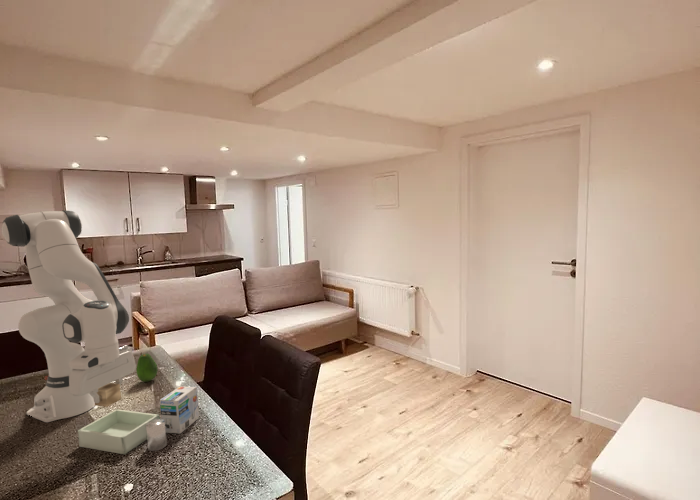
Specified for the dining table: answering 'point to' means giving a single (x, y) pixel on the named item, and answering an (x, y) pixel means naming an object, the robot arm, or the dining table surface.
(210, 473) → the dining table surface
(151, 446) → the cylinder
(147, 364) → the avocado
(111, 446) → the tote
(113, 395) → the cube
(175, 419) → the light bulb box
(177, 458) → the dining table surface
